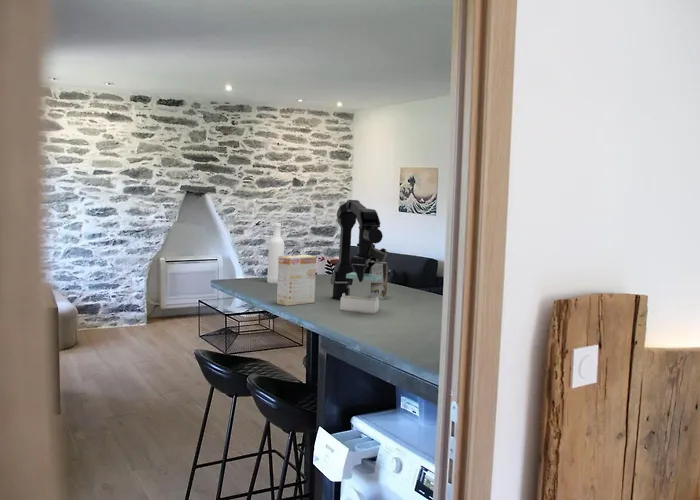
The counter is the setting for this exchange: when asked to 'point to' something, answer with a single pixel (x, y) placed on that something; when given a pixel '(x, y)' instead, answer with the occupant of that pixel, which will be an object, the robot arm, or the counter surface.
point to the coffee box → (379, 281)
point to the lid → (365, 276)
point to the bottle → (275, 254)
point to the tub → (359, 304)
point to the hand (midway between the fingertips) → (363, 280)
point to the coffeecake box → (296, 279)
